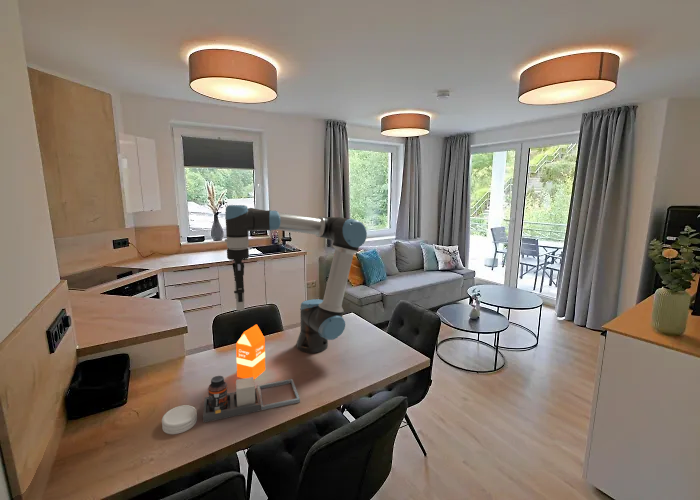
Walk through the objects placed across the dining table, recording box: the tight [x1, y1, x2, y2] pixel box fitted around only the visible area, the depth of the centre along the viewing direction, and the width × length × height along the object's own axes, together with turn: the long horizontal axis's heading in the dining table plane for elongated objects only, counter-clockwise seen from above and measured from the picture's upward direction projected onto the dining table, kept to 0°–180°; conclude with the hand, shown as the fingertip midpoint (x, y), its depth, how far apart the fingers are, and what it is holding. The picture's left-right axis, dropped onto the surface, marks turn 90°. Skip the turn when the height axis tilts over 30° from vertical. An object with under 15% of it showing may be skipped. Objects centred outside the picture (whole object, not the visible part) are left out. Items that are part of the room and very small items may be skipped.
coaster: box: [161, 404, 198, 435], centre depth 105 cm, size 10×10×4 cm
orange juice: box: [235, 324, 266, 380], centre depth 133 cm, size 8×9×20 cm
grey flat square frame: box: [256, 378, 301, 411], centre depth 121 cm, size 14×14×1 cm
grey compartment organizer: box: [202, 377, 261, 424], centre depth 113 cm, size 18×10×8 cm, turn 111°
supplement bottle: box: [207, 375, 228, 412], centre depth 111 cm, size 6×6×11 cm
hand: (239, 303), depth 122 cm, fingers open, 13 cm apart
